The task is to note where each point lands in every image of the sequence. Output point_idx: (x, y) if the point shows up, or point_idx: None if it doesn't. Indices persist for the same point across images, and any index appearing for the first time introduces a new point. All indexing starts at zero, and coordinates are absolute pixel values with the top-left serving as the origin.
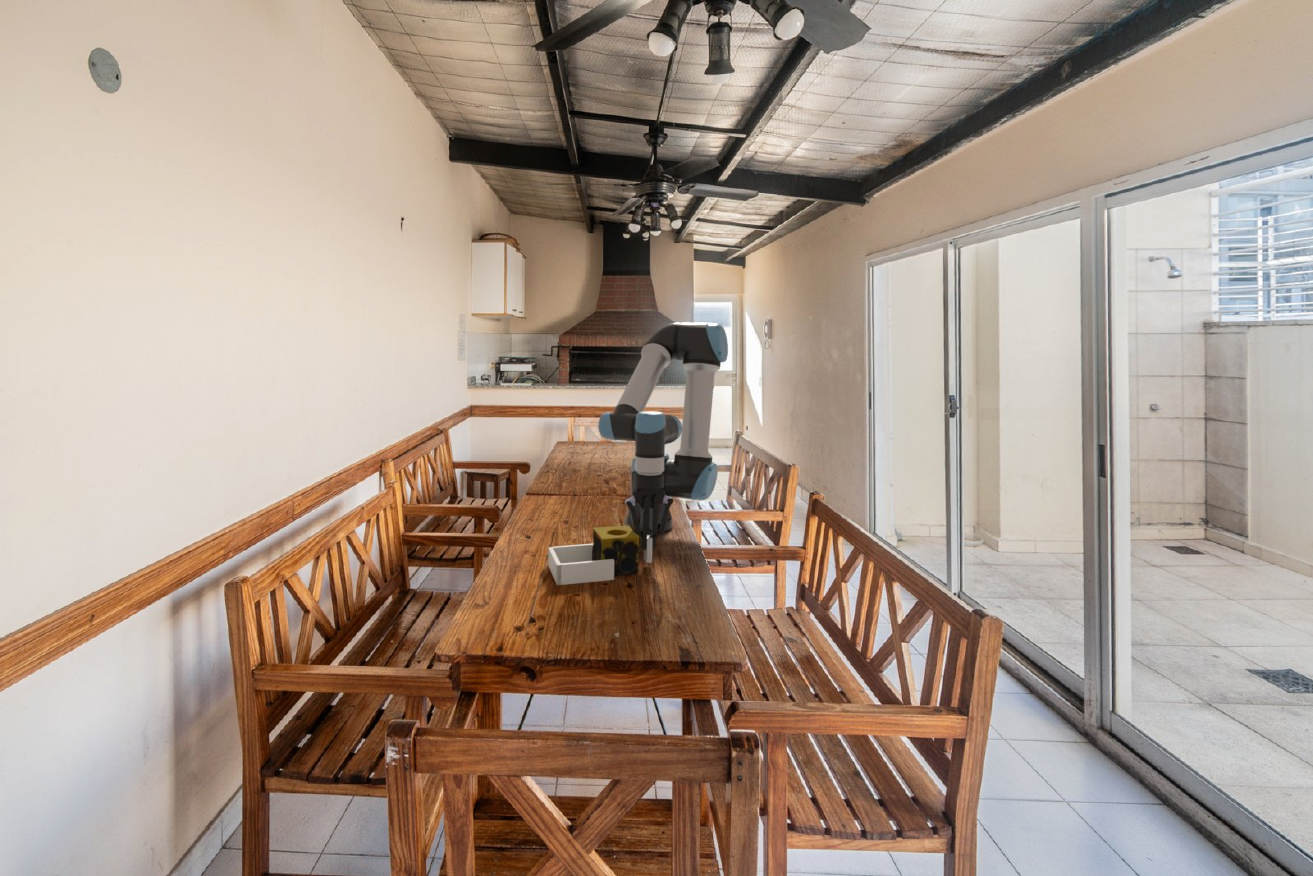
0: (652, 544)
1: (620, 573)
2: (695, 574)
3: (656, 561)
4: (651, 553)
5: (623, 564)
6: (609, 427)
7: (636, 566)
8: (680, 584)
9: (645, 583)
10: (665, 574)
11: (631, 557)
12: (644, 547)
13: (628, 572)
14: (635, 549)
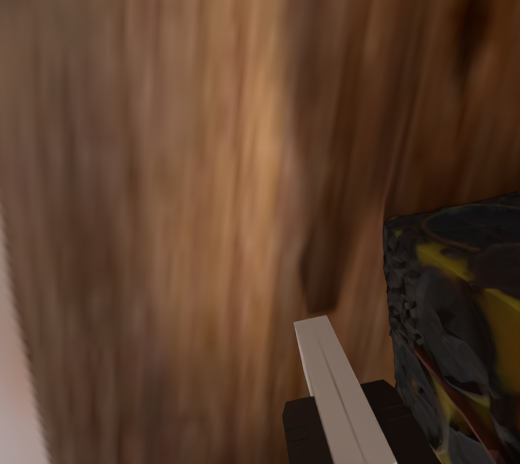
0: (314, 430)
1: (491, 202)
2: (32, 202)
3: (251, 392)
4: (310, 359)
5: (514, 225)
6: None
7: (413, 231)
8: (136, 23)
9: (365, 62)
10: (221, 209)
11: (498, 243)
12: (378, 396)
13: (445, 210)
14: (515, 283)
